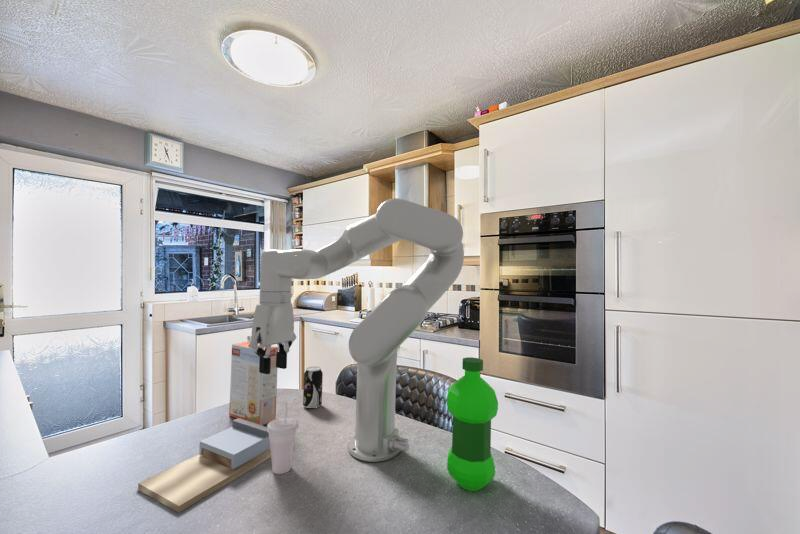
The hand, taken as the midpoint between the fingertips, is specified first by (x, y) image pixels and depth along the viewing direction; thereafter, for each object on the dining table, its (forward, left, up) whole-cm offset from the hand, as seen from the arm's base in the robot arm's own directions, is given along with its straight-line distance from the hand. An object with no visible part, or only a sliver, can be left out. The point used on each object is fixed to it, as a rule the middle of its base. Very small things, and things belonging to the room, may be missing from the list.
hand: (273, 369), depth 84 cm
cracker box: (+14, -6, -18) cm, 23 cm away
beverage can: (+5, -21, -18) cm, 28 cm away
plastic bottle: (-49, -7, -18) cm, 53 cm away
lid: (0, +10, -16) cm, 19 cm away
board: (0, +15, -17) cm, 23 cm away
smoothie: (-12, +8, -18) cm, 23 cm away
